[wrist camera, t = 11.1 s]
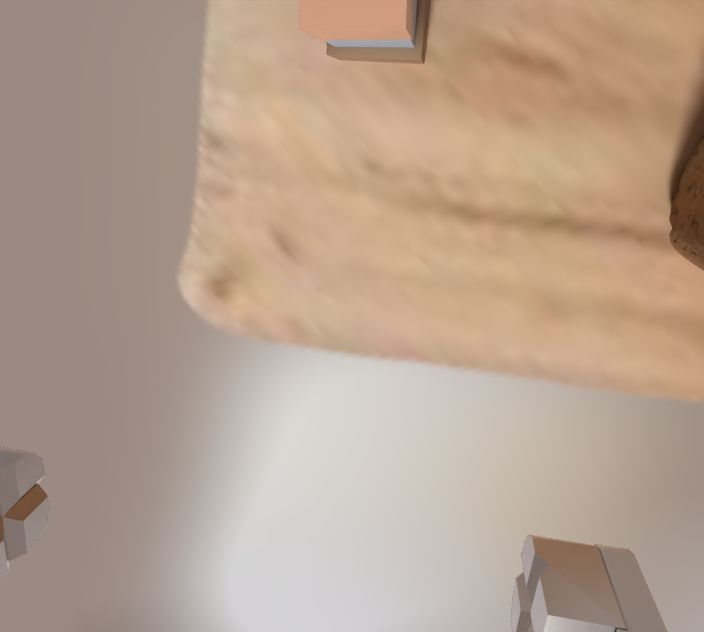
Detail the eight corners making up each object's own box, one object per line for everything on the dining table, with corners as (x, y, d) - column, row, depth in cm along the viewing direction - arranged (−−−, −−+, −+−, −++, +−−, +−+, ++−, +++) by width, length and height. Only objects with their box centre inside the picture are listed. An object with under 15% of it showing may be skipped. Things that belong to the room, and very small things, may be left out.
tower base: (344, -37, 40) (330, -55, 35) (432, -34, 39) (430, -53, 34) (339, 59, 42) (326, 54, 37) (424, 64, 41) (421, 59, 36)
